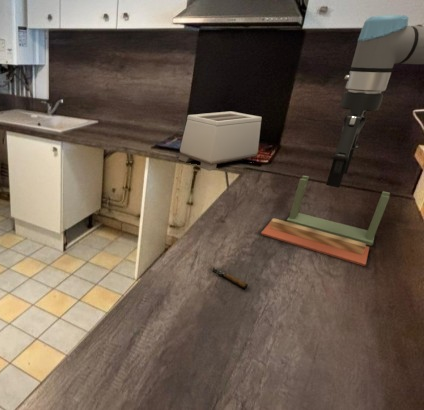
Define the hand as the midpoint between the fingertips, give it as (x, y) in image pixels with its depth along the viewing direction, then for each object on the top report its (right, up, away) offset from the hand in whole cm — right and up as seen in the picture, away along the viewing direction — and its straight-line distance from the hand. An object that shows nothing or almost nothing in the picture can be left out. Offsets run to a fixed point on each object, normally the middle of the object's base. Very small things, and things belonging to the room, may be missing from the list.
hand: (336, 179), depth 91 cm
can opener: (-31, -23, -10) cm, 40 cm away
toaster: (0, +14, +78) cm, 79 cm away
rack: (+8, -14, +14) cm, 21 cm away
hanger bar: (-2, -16, +7) cm, 17 cm away
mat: (-2, -17, +7) cm, 18 cm away
